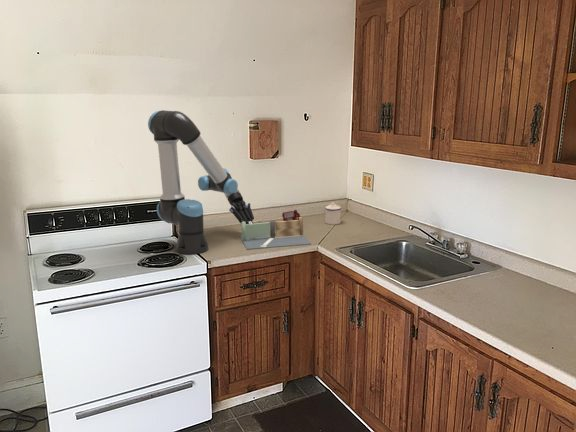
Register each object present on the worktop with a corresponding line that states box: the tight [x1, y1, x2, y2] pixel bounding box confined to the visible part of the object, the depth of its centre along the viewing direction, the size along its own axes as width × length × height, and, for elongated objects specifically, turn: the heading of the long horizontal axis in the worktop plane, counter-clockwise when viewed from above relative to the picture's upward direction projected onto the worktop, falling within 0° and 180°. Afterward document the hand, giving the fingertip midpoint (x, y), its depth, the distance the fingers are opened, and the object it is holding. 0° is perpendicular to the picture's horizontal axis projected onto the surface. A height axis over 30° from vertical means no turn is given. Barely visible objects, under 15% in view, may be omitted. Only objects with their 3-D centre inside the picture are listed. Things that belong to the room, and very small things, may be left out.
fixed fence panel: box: [269, 216, 304, 238], centre depth 258 cm, size 17×2×10 cm, turn 104°
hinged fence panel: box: [241, 221, 270, 241], centre depth 253 cm, size 14×2×9 cm, turn 108°
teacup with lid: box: [324, 202, 342, 226], centre depth 286 cm, size 12×9×12 cm
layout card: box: [239, 232, 312, 251], centre depth 254 cm, size 32×22×1 cm
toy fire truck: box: [281, 209, 302, 221], centre depth 273 cm, size 7×12×10 cm, turn 127°
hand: (254, 233), depth 256 cm, fingers closed
